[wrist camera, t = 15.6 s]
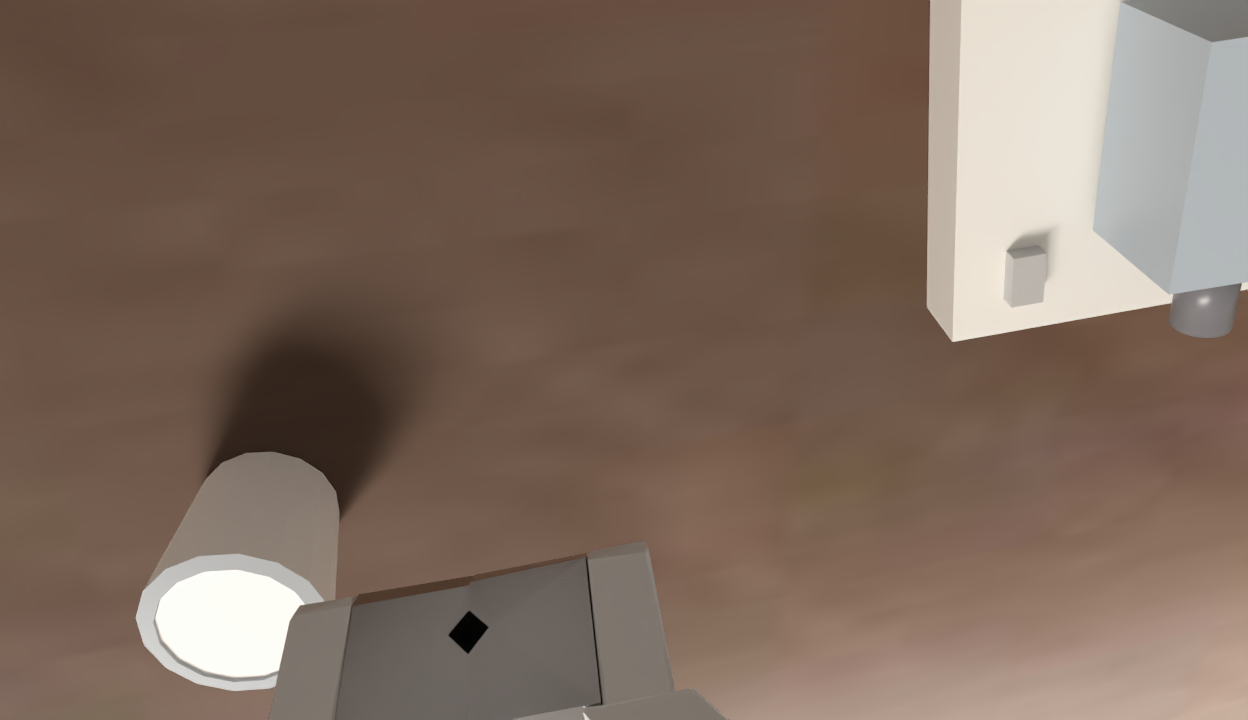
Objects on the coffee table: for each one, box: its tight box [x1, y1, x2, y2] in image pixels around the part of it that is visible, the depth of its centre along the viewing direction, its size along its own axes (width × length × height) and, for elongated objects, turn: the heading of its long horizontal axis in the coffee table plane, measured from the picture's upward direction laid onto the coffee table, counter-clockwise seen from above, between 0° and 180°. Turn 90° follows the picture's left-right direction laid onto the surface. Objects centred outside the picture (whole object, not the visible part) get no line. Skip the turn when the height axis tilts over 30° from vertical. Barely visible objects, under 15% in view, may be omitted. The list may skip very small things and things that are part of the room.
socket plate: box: [927, 0, 1248, 342], centre depth 37 cm, size 16×16×4 cm
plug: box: [1093, 0, 1248, 338], centre depth 36 cm, size 11×6×8 cm, turn 7°
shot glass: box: [136, 452, 339, 691], centre depth 41 cm, size 7×7×7 cm
